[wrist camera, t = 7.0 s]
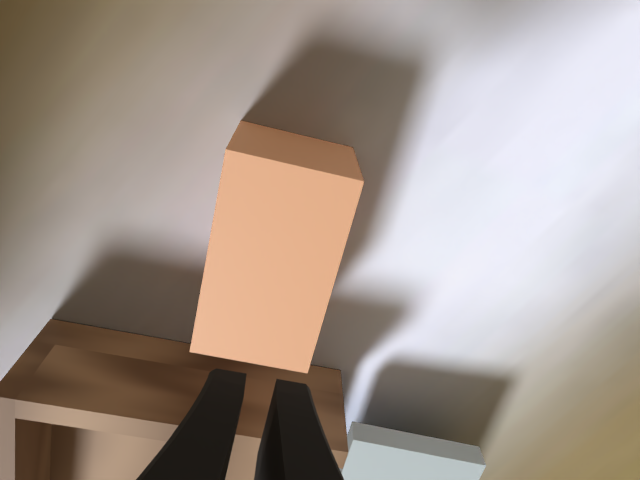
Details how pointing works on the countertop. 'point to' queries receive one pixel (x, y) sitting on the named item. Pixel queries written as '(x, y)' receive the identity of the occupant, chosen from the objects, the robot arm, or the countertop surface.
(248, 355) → the block
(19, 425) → the wooden tray
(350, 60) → the countertop surface
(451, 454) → the pale grey board
